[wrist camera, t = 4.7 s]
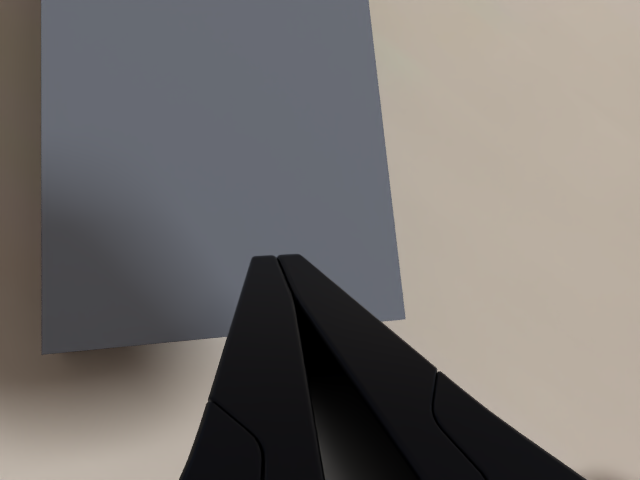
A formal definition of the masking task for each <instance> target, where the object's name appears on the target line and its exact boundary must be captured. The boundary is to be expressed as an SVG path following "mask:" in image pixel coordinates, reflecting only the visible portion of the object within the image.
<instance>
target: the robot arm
mask: <svg viewBox="0 0 640 480" xmlns="http://www.w3.org/2000/svg"><path fill="white" fill-rule="evenodd" d="M179 480H586V479H585V478H584V477H582V476H581V475H579V474H578V473H576V472H575V471H574V470H572V469H571V468H569V467H568V466H566V465H565V464H564V463H562V462H561V461H559V460H558V459H556V458H555V457H554V456H552V455H551V454H549V453H548V452H546V451H545V450H544V449H542V448H541V447H539V446H538V445H537V444H535V443H534V442H532V441H531V440H529V439H528V438H527V437H525V436H524V435H522V434H521V433H519V432H518V431H517V430H515V429H514V428H513V427H511V426H510V425H508V424H507V423H506V422H504V421H503V420H502V419H500V418H499V417H498V416H496V415H495V414H493V413H492V412H491V411H489V410H488V409H487V408H485V407H484V406H483V405H482V404H480V403H479V402H478V401H477V400H475V399H474V398H473V397H472V396H470V395H469V394H468V393H467V392H465V391H464V390H463V389H462V388H460V387H459V386H458V385H457V384H455V383H454V382H453V381H452V380H451V379H449V378H448V377H447V376H446V375H445V374H443V373H442V372H441V371H439V372H437V368H436V367H435V366H434V365H432V364H431V363H430V362H429V361H428V360H426V359H425V358H424V357H423V356H422V355H420V354H419V353H418V352H417V351H416V350H414V349H413V348H412V347H411V346H410V345H408V344H407V343H406V342H405V341H404V340H402V339H401V338H400V337H399V336H398V335H396V334H395V333H394V332H393V331H392V330H391V329H389V328H388V327H387V326H386V325H385V324H383V323H382V322H381V321H380V320H379V319H377V318H376V317H375V316H374V315H373V314H371V313H370V312H369V311H368V310H367V309H365V308H364V307H363V306H362V305H361V304H359V303H358V302H357V301H356V300H355V299H353V298H352V297H351V296H350V295H349V294H347V293H346V292H345V291H344V290H343V289H341V288H340V287H339V286H338V285H337V284H335V283H334V282H333V281H332V280H331V279H329V278H328V277H327V276H326V275H325V274H323V273H322V272H321V271H320V270H319V269H318V268H316V267H315V266H314V265H313V264H312V263H310V262H309V261H308V260H307V259H306V258H304V257H303V256H302V255H300V254H282V255H278V256H277V257H275V256H274V255H263V256H254V257H252V258H251V261H250V264H249V268H248V271H247V274H246V277H245V281H244V284H243V287H242V290H241V294H240V297H239V300H238V304H237V307H236V310H235V313H234V317H233V320H232V323H231V326H230V330H229V333H228V336H227V339H226V343H225V346H224V349H223V352H222V356H221V359H220V362H219V365H218V369H217V372H216V375H215V378H214V382H213V385H212V388H211V392H210V395H209V398H208V403H207V404H206V407H205V410H204V413H203V417H202V420H201V423H200V426H199V429H198V432H197V435H196V437H195V440H194V443H193V446H192V449H191V452H190V455H189V457H188V460H187V462H186V465H185V467H184V469H183V472H182V474H181V476H180V479H179Z"/></svg>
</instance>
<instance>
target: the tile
mask: <svg viewBox="0 0 640 480" xmlns="http://www.w3.org/2000/svg"><path fill="white" fill-rule="evenodd" d="M41 250H42V355H43V354H54V353H64V352H74V351H84V350H95V349H105V348H115V347H125V346H136V345H146V344H156V343H166V342H177V341H187V340H197V339H207V338H218V337H227V336H228V333H229V330H230V326H231V323H232V320H233V317H234V313H235V310H236V307H237V304H238V300H239V297H240V294H241V290H242V287H243V284H244V281H245V277H246V274H247V271H248V268H249V264H250V261H251V258H252V257H254V256H263V255H274V256H275V257H277V256H278V255H282V254H300V255H302V256H303V257H304V258H306V259H307V260H308V261H309V262H310V263H312V264H313V265H314V266H315V267H316V268H318V269H319V270H320V271H321V272H322V273H323V274H325V275H326V276H327V277H328V278H329V279H331V280H332V281H333V282H334V283H335V284H337V285H338V286H339V287H340V288H341V289H343V290H344V291H345V292H346V293H347V294H349V295H350V296H351V297H352V298H353V299H355V300H356V301H357V302H358V303H359V304H361V305H362V306H363V307H364V308H365V309H367V310H368V311H369V312H370V313H371V314H373V315H374V316H375V317H376V318H377V319H379V320H380V321H392V320H402V319H405V311H404V302H403V293H402V285H401V276H400V268H399V259H398V250H397V242H396V233H395V225H394V216H393V207H392V199H391V190H390V182H389V173H388V165H387V156H386V147H385V139H384V130H383V122H382V113H381V104H380V96H379V87H378V79H377V70H376V61H375V53H374V44H373V36H372V27H371V19H370V10H369V1H368V0H41Z"/></svg>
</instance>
